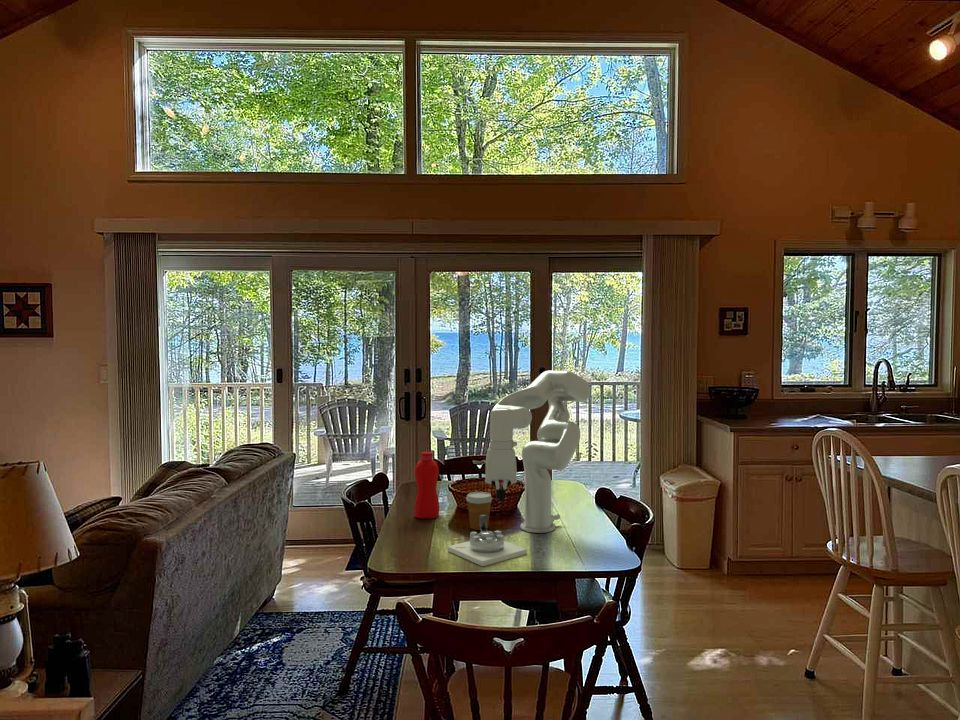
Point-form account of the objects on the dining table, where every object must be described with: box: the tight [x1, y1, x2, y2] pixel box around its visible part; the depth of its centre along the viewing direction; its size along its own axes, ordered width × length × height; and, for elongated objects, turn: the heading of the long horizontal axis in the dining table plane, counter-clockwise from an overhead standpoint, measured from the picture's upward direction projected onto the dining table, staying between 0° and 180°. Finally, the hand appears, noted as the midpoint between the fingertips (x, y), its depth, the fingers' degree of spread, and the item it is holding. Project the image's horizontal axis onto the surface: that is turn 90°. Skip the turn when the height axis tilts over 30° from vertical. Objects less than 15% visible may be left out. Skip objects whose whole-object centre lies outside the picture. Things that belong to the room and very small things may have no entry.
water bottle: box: [414, 451, 440, 520], centre depth 246 cm, size 9×11×25 cm
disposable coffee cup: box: [465, 491, 493, 531], centre depth 231 cm, size 10×10×12 cm
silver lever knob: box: [469, 515, 505, 553], centre depth 205 cm, size 15×11×8 cm
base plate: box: [447, 540, 528, 567], centre depth 204 cm, size 18×18×2 cm
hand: (500, 500), depth 210 cm, fingers closed
